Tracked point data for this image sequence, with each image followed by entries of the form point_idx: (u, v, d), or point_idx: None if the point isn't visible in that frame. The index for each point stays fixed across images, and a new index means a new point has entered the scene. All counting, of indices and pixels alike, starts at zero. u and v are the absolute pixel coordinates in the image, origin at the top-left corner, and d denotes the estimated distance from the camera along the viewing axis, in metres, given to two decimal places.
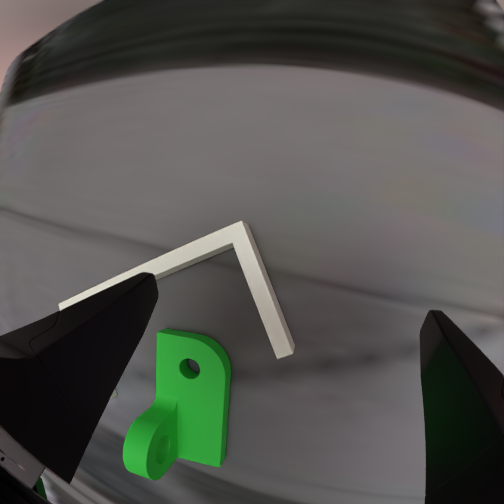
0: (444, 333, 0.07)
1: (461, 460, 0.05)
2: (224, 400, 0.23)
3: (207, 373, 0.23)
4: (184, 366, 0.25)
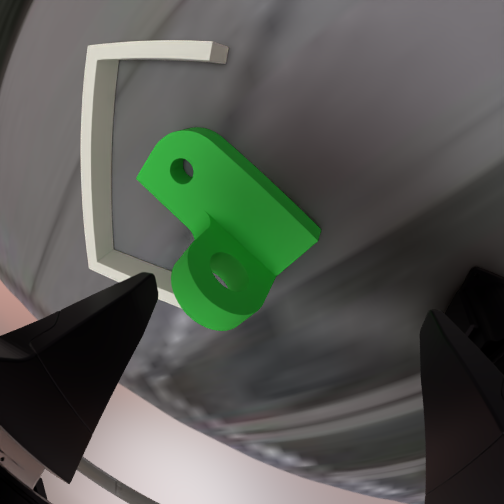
0: (444, 333, 0.07)
1: (461, 460, 0.05)
2: (235, 160, 0.19)
3: (194, 154, 0.19)
4: (185, 178, 0.21)
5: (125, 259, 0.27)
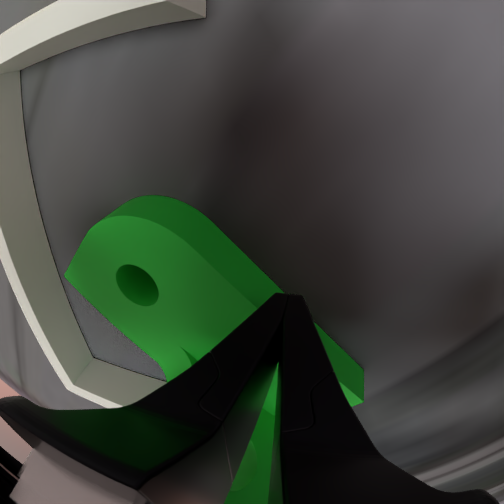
0: (285, 317, 0.08)
1: (273, 456, 0.05)
2: (240, 287, 0.10)
3: (159, 264, 0.10)
4: (144, 285, 0.12)
5: (111, 373, 0.17)
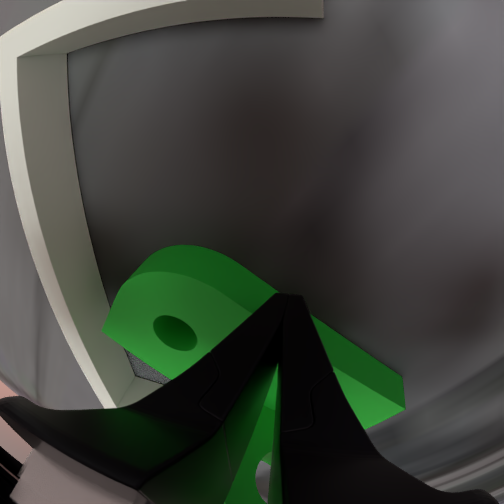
0: (284, 317, 0.08)
1: (273, 456, 0.05)
2: None
3: (194, 313, 0.10)
4: (181, 330, 0.12)
5: None
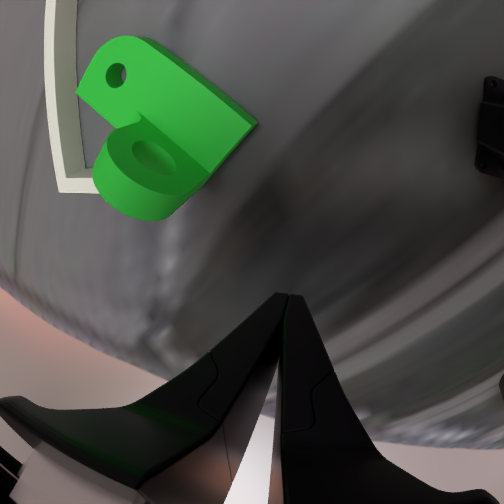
0: (285, 317, 0.08)
1: (273, 456, 0.05)
2: (166, 56, 0.16)
3: (128, 56, 0.16)
4: (120, 86, 0.18)
5: None
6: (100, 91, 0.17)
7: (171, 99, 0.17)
